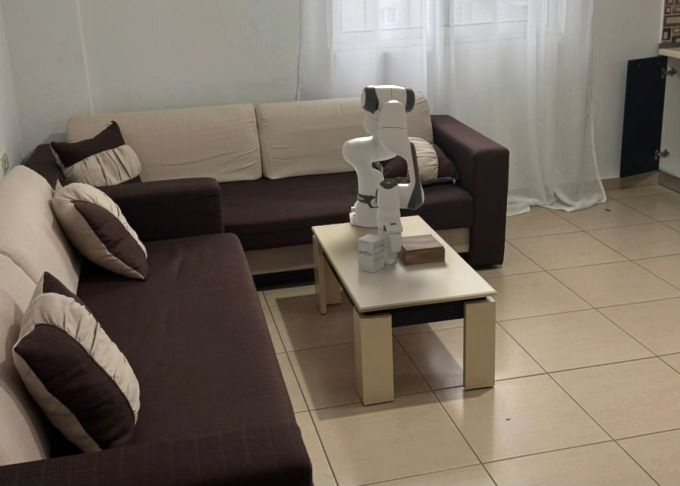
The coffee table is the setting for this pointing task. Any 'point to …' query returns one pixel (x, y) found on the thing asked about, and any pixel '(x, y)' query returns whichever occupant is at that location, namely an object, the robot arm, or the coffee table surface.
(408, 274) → the coffee table surface
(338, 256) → the coffee table surface
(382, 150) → the robot arm
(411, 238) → the walnut box
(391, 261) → the white cylinder
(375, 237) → the supplement box
